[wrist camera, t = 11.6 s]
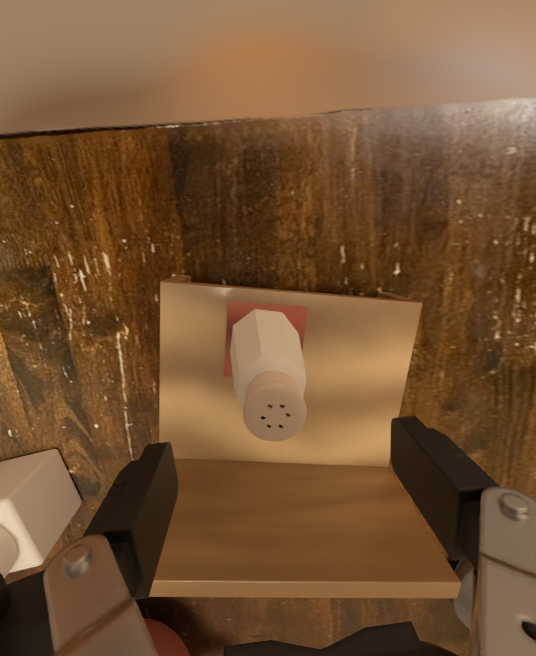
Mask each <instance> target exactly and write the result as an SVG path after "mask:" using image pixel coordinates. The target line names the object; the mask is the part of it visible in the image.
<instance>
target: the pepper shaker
mask: <svg viewBox="0 0 536 656" xmlns="http://www.w3.org/2000/svg"><path fill="white" fill-rule="evenodd" d="M230 356H231V364H232V372H233V380H234V387H235V394H236V398H237V400H238V401H239V402H240V403H241V404H242V406H243V407H244V409H243V419H244V423H245V425H246V427H247V429H248V430H249V431H250V432H251V433H252V434H253V435H254V436H256V437H257V438H259V439H262V440H265V441H272V442H277V441H283V440H286V439H288V438H291V437H292V436H293V435H295V434H296V433H297V432H298V431H299V430H300V429H301V428H302V427H303V425H304V422H305V420H306V416H307V408H306V403H305V401H304V399H303V396H304V391H305V385H306V372H305V366H304V361H303V355H302V350H301V344H300V339H299V333H298V332H297V331H296V329H295V328H294V327H293V325H292V324H291V323H290V322H289V320H288V319H287V318H286V316H285V315H284V314H283V312H276V311H268V310H260V309H254V310H253V311H251V312H250V313H249V314H247V315H246V316H245V317H243V318H242V319H241V320H240V321H238V322H237V323H236V324H234V325H233V330H232V338H231V347H230Z"/></svg>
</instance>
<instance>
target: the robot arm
mask: <svg viewBox="0 0 536 656" xmlns="http://www.w3.org/2000/svg"><path fill="white" fill-rule="evenodd" d="M390 456H391V462H392V466H393V469H394V471H395V473H396V475H397V476H398V478H399V479H400V481H401V482H402V484H403V486H404V487H405V489H406V490H407V492H408V493H409V495H410V496H411V498H412V499H413V501H414V503H415V504H416V506H417V507H418V509H419V510H420V512H421V513H422V515H423V516H424V518H425V519H426V521H427V523H428V524H429V526H430V527H431V529H432V530H433V532H434V533H435V535H436V536H437V538H438V540H439V541H440V543H441V544H442V546H443V547H444V549H445V550H446V552H447V553H448V555H449V557H450V558H451V560H452V561H457V560H464V559H468V560H469V561H470V563H471V564H472V566H473V574H472V596H471V620H470V643H469V656H536V500H534V499H533V498H531V497H530V496H528V495H526V494H524V493H522V492H520V491H517V490H514V489H511V488H506V487H500V486H499V485H498V484H497V483H496V482H495V481H494V480H492V479H491V478H490V477H489V476H488V475H487V474H486V473H485V472H484V471H483V470H482V469H481V468H480V467H479V466H478V465H477V464H476V463H475V462H474V461H473V460H472V459H471V458H469V457H467V456H466V454H465V453H464V452H463V451H462V450H461V449H460V448H458V446H457V445H456V444H455V443H454V442H453V441H452V440H451V439H450V438H449V437H447V436H446V435H444V434H442V433H440V432H439V431H437V430H435V429H433V428H430V429H428V428H427V427H426V426H425V425H424V424H423V423H422V422H421V421H420V420H419V419H418V418H417V417H415V416H406V417H397V418H393V419H392V421H391V446H390ZM112 485H113V486H112V487H111V488H110V490H109V491H108V493H107V497H106V498H104V500H103V502H102V504H101V505H100V507H99V509H98V511H97V512H96V514H95V516H94V518H93V519H92V521H91V523H90V525H89V526H88V528H87V530H86V532H85V533H84V535H83V537H81V538H78V539H76V540H74V541H72V542H71V543H69V544H67V545H66V546H65V547H63V548H62V549H61V550H60V551H59V552H58V553H57V554H56V555H55V556H54V557H53V558H52V559H51V561H50V562H49V564H48V565H47V567H46V569H45V570H43V571H41V572H38V573H36V574H33V575H31V576H28V577H26V578H23V579H20V580H18V581H15V582H13V583H10V584H8V585H6V582H5V580H4V577H3V575H2V574H1V573H0V656H159V655H158V653H157V650H156V648H155V645H154V643H153V641H152V638H151V636H150V633H149V631H148V629H147V626H146V624H145V621H144V619H143V617H142V614H141V612H140V610H139V607H138V605H137V603H136V600H138V599H146V598H149V595H150V591H151V588H152V584H153V580H154V577H155V573H156V570H157V566H158V563H159V559H160V556H161V552H162V549H163V545H164V542H165V538H166V535H167V531H168V528H169V524H170V521H171V517H172V514H173V510H174V507H175V503H176V500H177V496H178V476H177V471H176V466H175V460H174V455H173V450H172V445H171V443H170V442H163V443H154V444H148V445H147V446H146V447H145V449H144V451H143V453H142V455H141V457H140V459H139V460H135V461H131V462H130V463H129V464H128V465H127V466H126V467H125V468H123V469H122V470H121V471H120V472H119V474H118V476H117V477H116V479H115V481H114V483H113V484H112ZM224 656H458V655H456V654H454V653H452V652H451V651H448V650H446V649H444V648H442V647H440V646H437V645H434V644H431V643H428V642H424V641H419V639H418V636H417V634H416V632H415V629H414V627H413V625H412V622H403V623H396V624H388V625H381V626H373V627H366V628H364V629H362V630H360V631H358V632H356V633H354V634H352V635H350V636H348V637H346V638H344V639H342V640H340V641H338V642H336V643H334V644H332V645H330V646H328V647H326V648H323V649H315V648H310V647H304V646H299V645H294V644H289V643H283V642H278V641H273V640H268V641H261V642H253V643H246V644H238V645H231V646H224Z"/></svg>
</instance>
